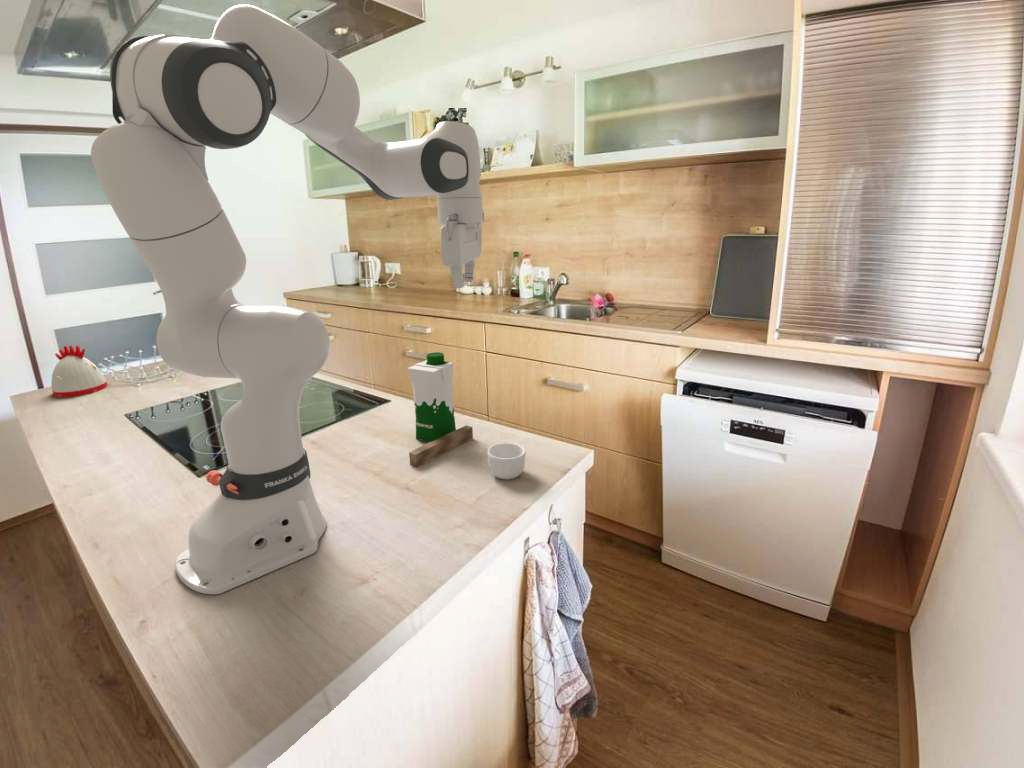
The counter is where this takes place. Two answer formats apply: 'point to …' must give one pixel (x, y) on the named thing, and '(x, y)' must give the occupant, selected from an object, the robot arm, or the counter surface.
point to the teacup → (506, 460)
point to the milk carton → (433, 397)
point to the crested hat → (75, 374)
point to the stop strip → (440, 446)
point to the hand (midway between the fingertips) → (464, 284)
